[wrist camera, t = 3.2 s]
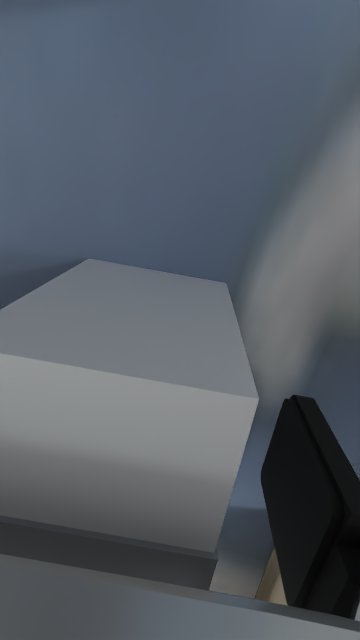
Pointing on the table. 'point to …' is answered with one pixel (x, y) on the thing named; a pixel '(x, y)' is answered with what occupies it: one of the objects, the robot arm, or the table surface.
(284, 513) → the robot arm
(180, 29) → the table surface
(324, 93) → the table surface
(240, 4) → the table surface
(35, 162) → the table surface
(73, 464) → the grey banded white block
